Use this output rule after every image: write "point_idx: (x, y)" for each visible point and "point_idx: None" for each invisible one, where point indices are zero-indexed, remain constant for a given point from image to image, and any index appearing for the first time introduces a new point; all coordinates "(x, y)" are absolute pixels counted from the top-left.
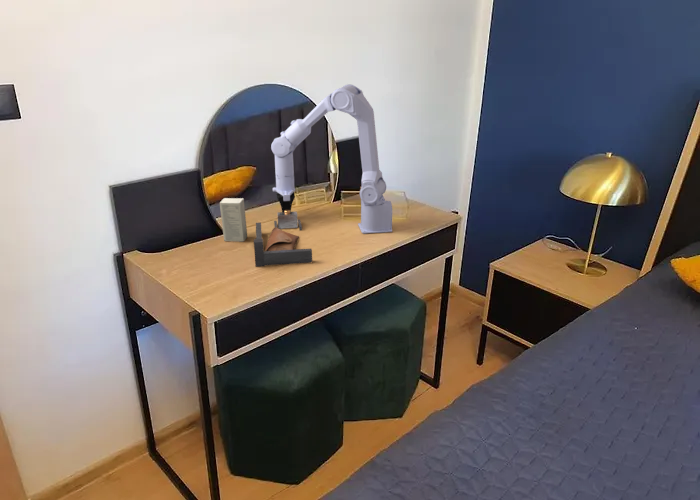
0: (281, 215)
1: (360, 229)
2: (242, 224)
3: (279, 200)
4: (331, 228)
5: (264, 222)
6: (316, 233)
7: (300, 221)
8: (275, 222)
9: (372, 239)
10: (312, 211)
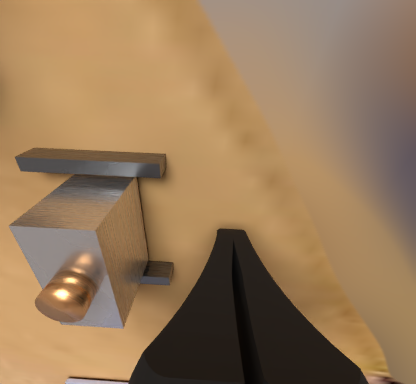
0: (22, 249)
1: (91, 382)
2: None
3: (153, 347)
4: (109, 336)
5: (216, 85)
6: None
7: (141, 283)
8: (125, 169)
9: (34, 381)
10: (311, 321)
